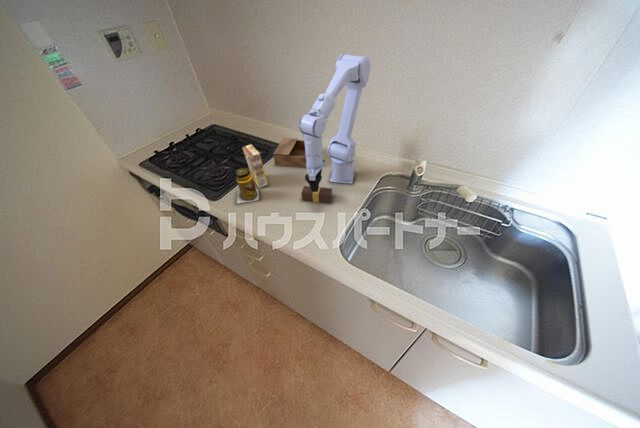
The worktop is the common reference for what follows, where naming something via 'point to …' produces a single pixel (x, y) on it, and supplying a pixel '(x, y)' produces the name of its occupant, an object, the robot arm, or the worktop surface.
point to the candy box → (255, 165)
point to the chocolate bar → (317, 194)
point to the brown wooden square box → (290, 153)
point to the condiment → (246, 186)
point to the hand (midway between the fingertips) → (316, 184)
